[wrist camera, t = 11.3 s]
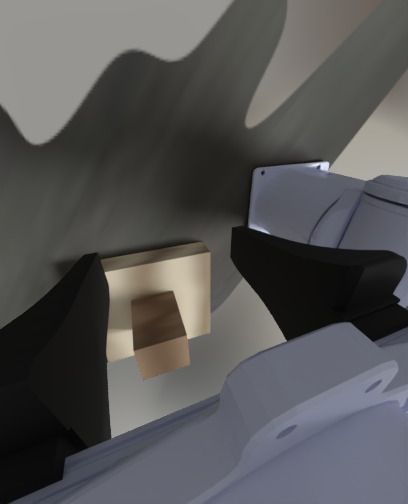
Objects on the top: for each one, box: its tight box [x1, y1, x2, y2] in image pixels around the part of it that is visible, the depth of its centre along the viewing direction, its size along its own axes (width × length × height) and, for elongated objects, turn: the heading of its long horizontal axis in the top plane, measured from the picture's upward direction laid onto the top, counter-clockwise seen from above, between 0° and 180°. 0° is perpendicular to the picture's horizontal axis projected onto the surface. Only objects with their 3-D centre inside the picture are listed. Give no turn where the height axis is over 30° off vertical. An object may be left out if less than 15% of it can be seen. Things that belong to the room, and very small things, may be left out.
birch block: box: [101, 242, 210, 363], centre depth 25 cm, size 13×13×3 cm
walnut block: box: [131, 291, 190, 380], centre depth 21 cm, size 4×4×6 cm
